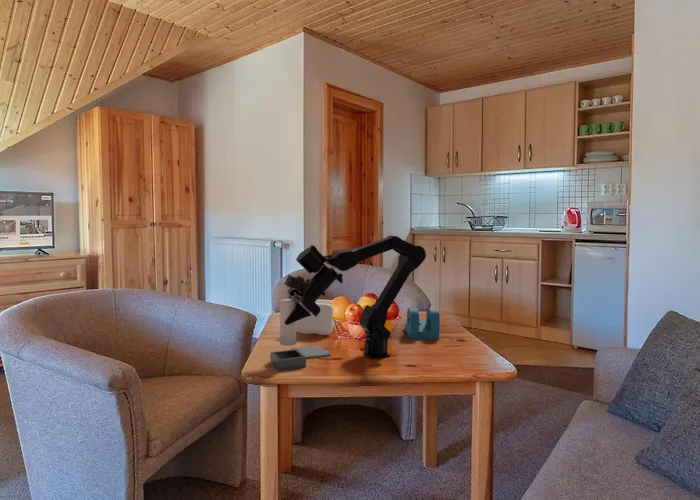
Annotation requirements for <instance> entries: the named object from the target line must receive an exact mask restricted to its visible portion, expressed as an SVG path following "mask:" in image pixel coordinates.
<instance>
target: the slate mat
mask: <svg viewBox="0 0 700 500" xmlns="http://www.w3.org/2000/svg"><path fill="white" fill-rule="evenodd" d="M294 349H297V350H299V351H300V352H301V353H302V354H303V355H304V356H305V357H306V360H307V359H314V358H320V357H321V358H322V357H329V356H331V352H329V351H328V350H326V349H325V348H323V347H322V346H321V345H320V344H319V345H311V346H301V347H300V346H299V347H294V348H290V350H294Z"/></svg>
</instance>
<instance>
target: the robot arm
mask: <svg viewBox="0 0 700 500" xmlns="http://www.w3.org/2000/svg"><path fill="white" fill-rule="evenodd" d="M391 250H393V251H394V252H396V253H397V254H399V256H398V262H397V266H396V268H395V269H394V272H393V273H392V274H391V276H390V278H389V280H388V281H387V282H386V285H385V286H384V287H383V289H382V291H381V293H380V295H379V296H378V298H377V299H376V301H375V302H374V303H373V304H372V305H369V304H366V305H365V307H364V309H363V311H362V312H361V313H360V314H359V316H360V318H359V320H358V321H359V325H360V328H362V329H363V330H364V334H367V335H365V340H364V351H363V354H364V355H366V356H367V357H369V358H371V359H379V358H386V357H390V356H391V355H390V353H388V342H389V339H390V338H391V337H390V336H391V334H392V332H391V331H390V330H389V329H388V328H387V327H386V326H385V325H386V322H387V319H388V313H389V309H390V307H391V306H392V304H394V301H395V299H396V298H397V296H398V295H399V293H400V292H401V289H402V288H403V286H404V285H405V282H406V281H407V280H408V278H409V276H410V275H411V273H413V272H414V271H415V270H417V269H418V268H419V267H420V266H421V265H422V264H423V263H424V261H425V260H426V258H427V253H426V250H425V248H424V246H421V245H416V244H412V243H410V242H408V241H406V240H404V239H402V238H400V237H399V236H397V235H392V234H391V235H388V236H386V237H384V238H381V239H379V240H376V241H372V242H370V243H367V244H364V245H361V246H359V247H356V248H345V249H340V250H339V249H338V250H335V251H332V252H331V254H328V255H323V254H321V252H320V251H319V250H318V248H317V247H316V246H315V245H314V244H311V245H310V246H309V247H307V248H305V249H304V250H303V251H301V252H300V253H299V254H298V255H297V257H296V259H295V260H296V262H297V263H298V264H299V265H300V266H301V267H302V268H303V269H304V270H306V272H308V274H312V273H313V274H314V275H313V276H312V277H311V278H307V279H306V280H305V277H302V276H300V275H298V276H293V275H291V274H288V275H287V277H286V279H285V282H284V286H285V285H286V287H288V288H289V289H288V290H287V291H286V293H287V294H289V295H288V296H287V298H288V299H294V300H295V308H294V309H293V311H292V312H291V314H290V315H289V316H288V318H287V319H286V321H285V322H284V323H285V324H286V325H289V324H291V323H293V322H296V321H298V320H300V319H303V318H305V317H308V316H311V314H310V312H311V313H312V314H313V315H314V316H315V317H316V316H317V315H318V314H319V313H320V307H319V306H318V305H317V304H316V303H315V302H316V301H317V300H319V299H320V298H321V296H322V297H325V296H326V291H327V290H328V289H329V287H331V286H332V284H333V283H335V281H336V282H338V283H340V284H343V281H344V280H343V273H341V272H346V271H348V270H350V269H352V268H355V266H357V265H358V264H359V263H360V262H362V261H364V260H366V259H370V258H373V257H375V256H378V255H380V254H382V253H385V252H388V251H391ZM327 265H330V266H331V267H328V266H327ZM335 269H336V270H339V271H341V272H337V271H336V270H335Z"/></svg>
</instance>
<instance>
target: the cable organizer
mask: <svg viewBox="0 0 700 500" xmlns="http://www.w3.org/2000/svg"><path fill="white" fill-rule="evenodd" d="M332 301H333V300H332V299H331V300H330V299H318V300H317V301H316V302H315V303H316V304H317V305H318V306H319V307H320V313H319V314H318V315H317V316H316V317H315V316H314V315H313V314H312V313H311V312H310V314H311V316H308V317H305V318H303V319H300V320H298V321H296V333H300V334H302V335H311V334H317V335H320V336H328V335H329V334H331V333H332V332H333V330H334V328H335V327H336V325H335V322H334V320H333V317H332V315H333V307H332V306H331V305H330V304H331V302H332Z"/></svg>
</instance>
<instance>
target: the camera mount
mask: <svg viewBox="0 0 700 500" xmlns="http://www.w3.org/2000/svg"><path fill="white" fill-rule="evenodd" d="M440 321H441V319H440V312H439V310H438V308H437V307H433V308H432V307H431V308H430V307H429V308H427V310H426V317H425V320H424V319H423V320H422V319H420V313H419V309H418V308H416V307H415V308H413V307H411V308H410V307H409V308H408V309H407V311H406V321H405V322H404V331H405V333H406V332H407V333H406V334H407V336H408V337H409V339H410V340H440V325H441V324H440V323H441V322H440Z"/></svg>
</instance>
